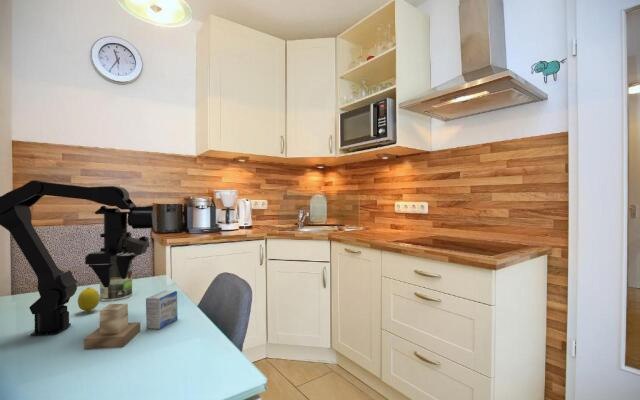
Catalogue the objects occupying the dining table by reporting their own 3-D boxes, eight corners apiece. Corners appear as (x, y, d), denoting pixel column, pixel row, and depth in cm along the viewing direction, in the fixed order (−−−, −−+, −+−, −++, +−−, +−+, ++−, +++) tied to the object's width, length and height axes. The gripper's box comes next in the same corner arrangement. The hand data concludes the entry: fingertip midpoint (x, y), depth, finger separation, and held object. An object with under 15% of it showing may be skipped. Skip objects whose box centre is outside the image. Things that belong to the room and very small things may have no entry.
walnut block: (83, 351, 75) (83, 338, 75) (104, 335, 84) (104, 323, 84) (123, 348, 77) (123, 336, 77) (140, 333, 85) (140, 322, 85)
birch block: (99, 334, 78) (99, 310, 78) (110, 326, 82) (109, 304, 82) (118, 333, 78) (118, 309, 78) (128, 325, 83) (127, 303, 83)
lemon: (78, 316, 96) (78, 290, 96) (77, 312, 101) (77, 287, 101) (100, 312, 100) (100, 287, 100) (98, 308, 104) (97, 284, 104)
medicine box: (159, 329, 86) (159, 298, 86) (145, 328, 87) (145, 297, 87) (178, 319, 94) (177, 290, 94) (165, 318, 95) (164, 289, 95)
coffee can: (138, 292, 121) (138, 256, 121) (121, 301, 111) (120, 261, 111) (112, 292, 122) (111, 256, 122) (92, 301, 111) (92, 261, 111)
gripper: (129, 232, 82) (129, 291, 82) (157, 226, 101) (157, 274, 101) (83, 232, 81) (83, 292, 81) (121, 226, 100) (121, 275, 100)
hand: (115, 282), depth 91 cm, fingers open, 9 cm apart
